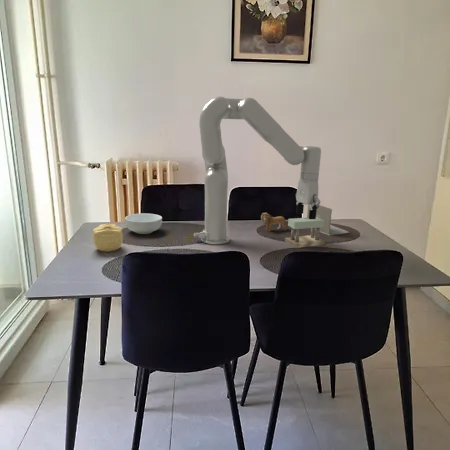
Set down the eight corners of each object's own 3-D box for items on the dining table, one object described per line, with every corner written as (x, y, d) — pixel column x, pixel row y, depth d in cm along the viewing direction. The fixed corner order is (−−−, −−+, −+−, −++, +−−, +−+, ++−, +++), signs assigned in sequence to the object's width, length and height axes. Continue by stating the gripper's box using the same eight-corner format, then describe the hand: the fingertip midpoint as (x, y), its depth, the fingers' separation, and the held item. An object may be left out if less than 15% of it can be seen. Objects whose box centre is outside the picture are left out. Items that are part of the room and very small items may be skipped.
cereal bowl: (142, 239, 174) (141, 223, 172) (117, 232, 183) (117, 217, 181) (169, 231, 187) (169, 216, 185) (145, 225, 196) (145, 211, 194)
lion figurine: (263, 232, 188) (264, 214, 185) (258, 229, 192) (258, 211, 190) (290, 230, 193) (291, 212, 191) (284, 227, 198) (285, 209, 195)
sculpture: (93, 255, 152) (91, 228, 150) (94, 245, 164) (92, 220, 161) (124, 253, 156) (122, 226, 153) (122, 243, 167) (121, 219, 164)
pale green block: (294, 229, 167) (294, 222, 166) (288, 225, 172) (288, 218, 171) (323, 227, 171) (324, 220, 170) (316, 223, 176) (317, 217, 175)
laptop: (349, 233, 190) (352, 207, 187) (328, 236, 185) (331, 209, 182) (325, 224, 206) (328, 199, 203) (306, 226, 201) (307, 201, 198)
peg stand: (296, 247, 166) (298, 230, 165) (284, 241, 175) (285, 224, 173) (324, 244, 171) (326, 227, 170) (311, 238, 180) (313, 222, 179)
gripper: (290, 173, 172) (287, 212, 177) (313, 179, 157) (309, 221, 161) (305, 173, 175) (302, 211, 179) (329, 179, 160) (324, 220, 164)
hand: (305, 216), depth 170 cm, fingers open, 9 cm apart
